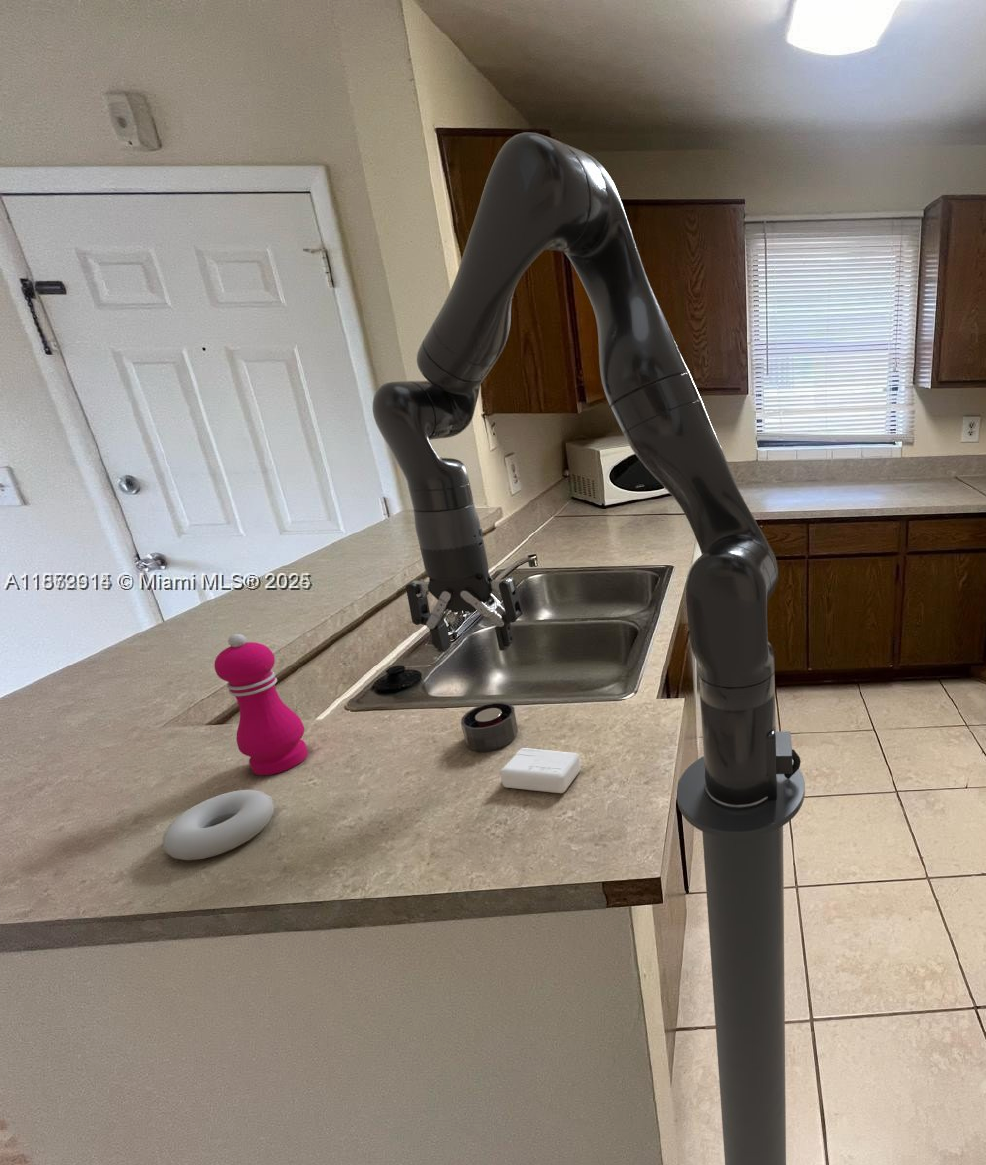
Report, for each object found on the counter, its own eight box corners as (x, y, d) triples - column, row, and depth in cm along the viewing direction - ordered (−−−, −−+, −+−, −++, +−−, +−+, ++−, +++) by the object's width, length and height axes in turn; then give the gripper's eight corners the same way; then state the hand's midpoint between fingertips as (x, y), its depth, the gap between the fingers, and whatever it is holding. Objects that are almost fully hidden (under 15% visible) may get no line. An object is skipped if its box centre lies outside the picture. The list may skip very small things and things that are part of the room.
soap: (583, 769, 82) (580, 751, 81) (564, 796, 77) (560, 777, 76) (524, 763, 83) (520, 745, 82) (500, 789, 78) (497, 770, 77)
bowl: (525, 723, 93) (521, 701, 91) (507, 752, 86) (502, 728, 85) (479, 724, 93) (474, 702, 91) (457, 753, 86) (451, 729, 84)
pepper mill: (322, 743, 88) (282, 621, 81) (294, 774, 82) (247, 644, 75) (268, 749, 87) (222, 625, 80) (235, 781, 80) (182, 649, 74)
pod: (509, 728, 91) (505, 707, 90) (499, 742, 87) (495, 721, 86) (485, 728, 91) (481, 708, 90) (475, 742, 87) (470, 721, 86)
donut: (147, 855, 68) (203, 876, 65) (136, 832, 67) (192, 851, 64) (244, 799, 77) (297, 815, 74) (235, 777, 76) (289, 792, 73)
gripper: (380, 548, 75) (410, 662, 81) (492, 545, 75) (515, 659, 81) (413, 533, 82) (438, 639, 88) (516, 530, 82) (535, 636, 88)
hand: (475, 648), depth 84 cm, fingers open, 8 cm apart
